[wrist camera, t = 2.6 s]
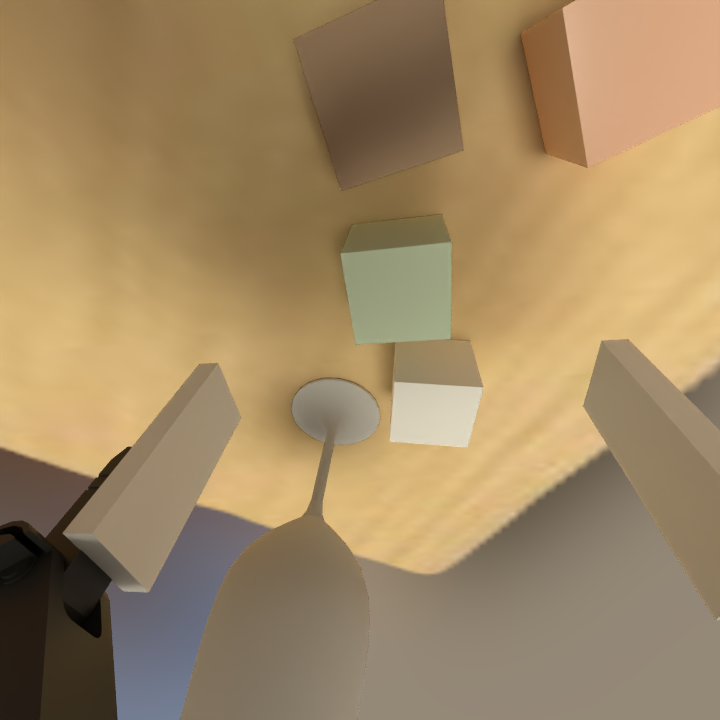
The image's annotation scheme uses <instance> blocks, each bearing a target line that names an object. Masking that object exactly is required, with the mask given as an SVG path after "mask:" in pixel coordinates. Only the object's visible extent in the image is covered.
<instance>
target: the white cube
mask: <svg viewBox="0 0 720 720" xmlns="http://www.w3.org/2000/svg"><path fill="white" fill-rule="evenodd" d="M482 391H483V384H482V381H481V377H480V374H479V370H478V367H477V363H476V360H475V356H474V353H473V349H472V346H471V342H470V341H464V340H446V339H440V340H424V341H408V342H395V352H394V366H393V379H392V393H391V420H390V442H403V443H416V444H429V445H442V446H455V447H468V444H469V440H470V436H471V433H472V429H473V425H474V421H475V418H476V414H477V410H478V406H479V403H480V399H481V395H482Z"/></svg>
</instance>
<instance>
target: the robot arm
mask: <svg viewBox="0 0 720 720" xmlns="http://www.w3.org/2000/svg"><path fill="white" fill-rule="evenodd" d="M583 407H584V408H585V410H586V412H587V413H588V415H589V416H590V418H591V420H592V421H593V423H594V425H595V426H596V428H597V429H598V431H599V433H600V434H601V436H602V437H603V439H604V441H605V442H606V444H607V446H608V447H609V449H610V450H611V452H612V454H613V455H614V457H615V458H616V460H617V461H618V463H619V465H620V467H621V468H622V470H623V471H624V473H625V475H626V476H627V478H628V479H629V481H630V483H631V484H632V486H633V487H634V489H635V491H636V492H637V494H638V496H639V497H640V499H641V500H642V502H643V504H644V505H645V507H646V508H647V510H648V512H649V513H650V515H651V517H652V518H653V520H654V521H655V523H656V525H657V526H658V528H659V530H660V531H661V533H662V534H663V536H664V538H665V539H666V541H667V543H668V544H669V546H670V547H671V549H672V550H673V552H674V554H675V555H676V557H677V559H678V560H679V562H680V563H681V565H682V567H683V568H684V570H685V572H686V573H687V575H688V576H689V578H690V580H691V581H692V583H693V585H695V588H696V589H697V591H698V592H699V594H700V596H701V597H702V599H703V600H704V602H705V604H706V606H707V607H708V608H709V610H710V612H711V614H712V615H713V617H714V618H715V620H720V430H719V429H718V428H717V427H716V426H715V425H714V424H713V423H712V422H711V421H709V420H708V418H707V417H706V416H705V415H704V414H702V413H701V411H699V410H698V408H696V406H695V405H693V403H692V402H690V401H689V400H688V399H687V398H686V397H685V396H684V395H683V394H682V393H681V392H680V391H679V390H678V389H677V388H676V387H675V386H674V385H673V384H672V383H671V382H670V381H669V380H668V379H667V378H666V377H665V376H664V375H663V374H662V373H661V372H660V371H659V370H658V369H657V368H656V367H655V366H654V365H653V364H652V363H651V362H650V361H649V360H648V359H647V358H646V357H645V356H644V355H643V354H642V353H641V352H640V351H639V350H638V349H637V348H636V347H635V346H634V345H633V344H632V343H631V342H630V341H629V340H628V339H625V340H607V341H601V345H600V348H599V352H598V355H597V359H596V363H595V366H594V370H593V373H592V377H591V380H590V384H589V388H588V391H587V395H586V398H585V402H584V405H583ZM240 419H241V416H240V413H239V411H238V408H237V406H236V404H235V401H234V399H233V397H232V394H231V392H230V390H229V387H228V385H227V383H226V380H225V378H224V376H223V373H222V371H221V368H220V366H219V364H218V363H209V364H199V365H198V366H197V368H196V369H195V370H194V371H193V372H192V374H191V375H190V376H189V377H188V379H187V380H186V381H185V382H184V384H183V385H182V386H181V387H180V389H179V390H178V391H177V392H176V393H175V395H174V396H173V397H172V398H171V400H170V401H169V402H168V403H167V405H166V406H165V407H164V408H163V410H162V411H161V412H160V413H159V415H158V416H157V417H156V418H155V419H154V421H153V422H152V423H151V424H150V426H149V427H148V428H147V429H146V431H145V432H144V433H143V434H142V436H141V437H140V438H139V439H138V440H137V442H136V443H135V444H134V445H133V447H127V448H126V449H124V450H123V451H122V452H120V453H119V454H118V455H117V456H115V457H114V458H113V459H112V460H111V461H110V462H109V463H108V464H107V465H106V467H105V468H104V469H103V470H102V471H101V472H100V474H99V477H98V478H95V480H94V481H93V482H92V483H91V485H90V486H89V487H88V488H89V489H88V490H85V492H84V493H83V494H82V495H81V497H80V498H79V499H78V500H77V501H76V502H75V503H74V505H73V506H72V507H71V508H70V509H69V511H68V512H67V513H66V514H65V515H64V517H63V518H62V519H61V520H60V521H59V523H58V524H57V525H56V526H55V527H54V528H53V530H52V531H51V532H50V533H49V534H48V536H47V537H46V538H44V537H43V536H42V535H41V534H40V533H39V532H38V531H36V530H35V529H34V528H33V527H32V526H31V525H30V524H29V523H27V522H24V521H13V522H10V523H7V524H5V525H2V526H0V720H117V705H116V690H115V675H114V660H113V646H112V630H111V615H110V600H109V598H108V595H107V593H105V590H106V588H107V587H108V585H109V583H110V582H111V580H112V581H113V582H114V583H115V584H116V585H117V586H118V587H119V588H120V589H121V590H123V591H132V592H149V591H150V589H151V587H152V585H153V583H154V582H155V580H156V578H157V576H158V574H159V572H160V570H161V568H162V566H163V565H164V563H165V561H166V559H167V557H168V555H169V553H170V551H171V549H172V547H173V545H174V544H175V542H176V540H177V538H178V536H179V534H180V532H181V530H182V528H183V527H184V525H185V523H186V521H187V519H188V517H189V515H190V513H191V512H192V510H193V508H194V506H195V504H196V502H197V500H198V498H199V496H200V495H201V493H202V491H203V489H204V487H205V485H206V483H207V481H208V479H209V478H210V476H211V474H212V472H213V470H214V468H215V466H216V464H217V462H218V461H219V459H220V457H221V455H222V453H223V451H224V449H225V447H226V445H227V444H228V442H229V440H230V438H231V436H232V434H233V432H234V430H235V428H236V427H237V425H238V423H239V421H240Z"/></svg>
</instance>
